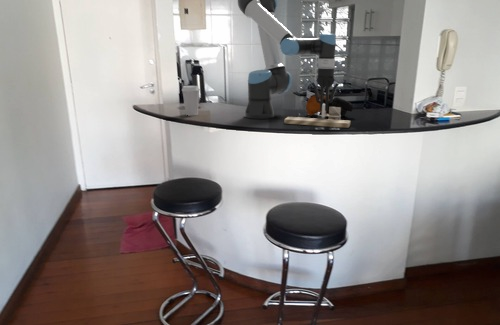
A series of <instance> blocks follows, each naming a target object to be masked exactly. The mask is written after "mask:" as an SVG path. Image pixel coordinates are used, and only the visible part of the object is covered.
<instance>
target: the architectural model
mask: <svg viewBox="0 0 500 325" xmlns="http://www.w3.org/2000/svg"><path fill="white" fill-rule="evenodd" d="M340 112H341V107H329V114H327V113H326V115H325V117H328V119H332V120H341V117H342V116H341V114H340Z"/></svg>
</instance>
